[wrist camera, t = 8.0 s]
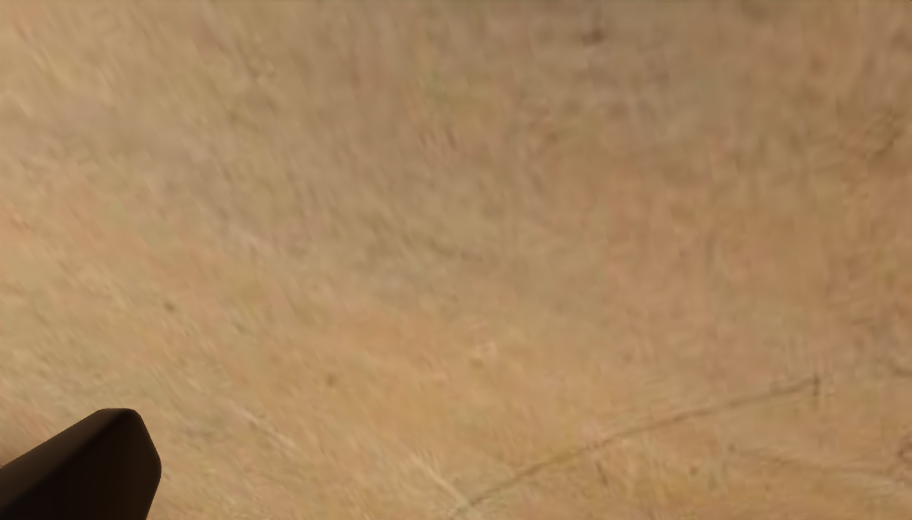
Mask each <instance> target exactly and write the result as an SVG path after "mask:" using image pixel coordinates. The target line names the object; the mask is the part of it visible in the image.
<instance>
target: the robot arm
mask: <svg viewBox="0 0 912 520" xmlns="http://www.w3.org/2000/svg"><path fill="white" fill-rule="evenodd" d="M160 478H161V460H160V457H159V455H158V453H157V450H156V448H155V446H154V444H153V442H152V439H151V437H150V435H149V433H148V431H147V428H146V426H145V424H144V422H143V420H142V418H141V416H140V415H139V414H138V413H137V412H136V411H135V410H132V409H128V408H107V409H101V410H98V411H96V412H94V413H93V414H91V415H89V416H88V417H86V418H84V419H83V420H81V421H79V422H78V423H76V424H74V425H73V426H71V427H69V428H67V429H66V430H64V431H62V432H61V433H59V434H57V435H56V436H54V437H52V438H51V439H49V440H47V441H46V442H44V443H42V444H41V445H39V446H37V447H36V448H34V449H32V450H30V451H29V452H27V453H25V454H24V455H22V456H20V457H19V458H17V459H15V460H14V461H12V462H10V463H9V464H7V465H5V466H4V467H2V468H0V520H146V518H147V515H148V512H149V509H150V507H151V504H152V501H153V499H154V496H155V493H156V490H157V488H158V485H159V482H160Z"/></svg>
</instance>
